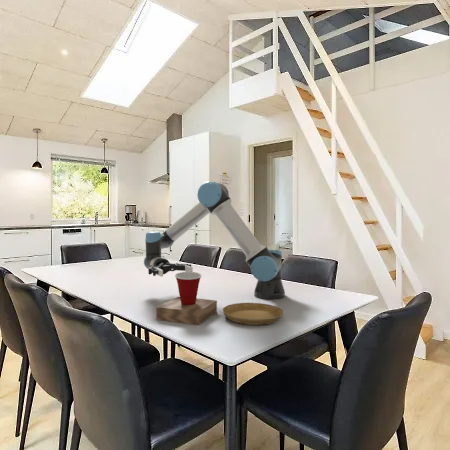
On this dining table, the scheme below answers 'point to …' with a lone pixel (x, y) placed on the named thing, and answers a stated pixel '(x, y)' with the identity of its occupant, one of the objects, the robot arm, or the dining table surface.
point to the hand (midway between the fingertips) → (177, 271)
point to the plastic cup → (188, 286)
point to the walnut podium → (186, 311)
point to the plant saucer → (252, 313)
